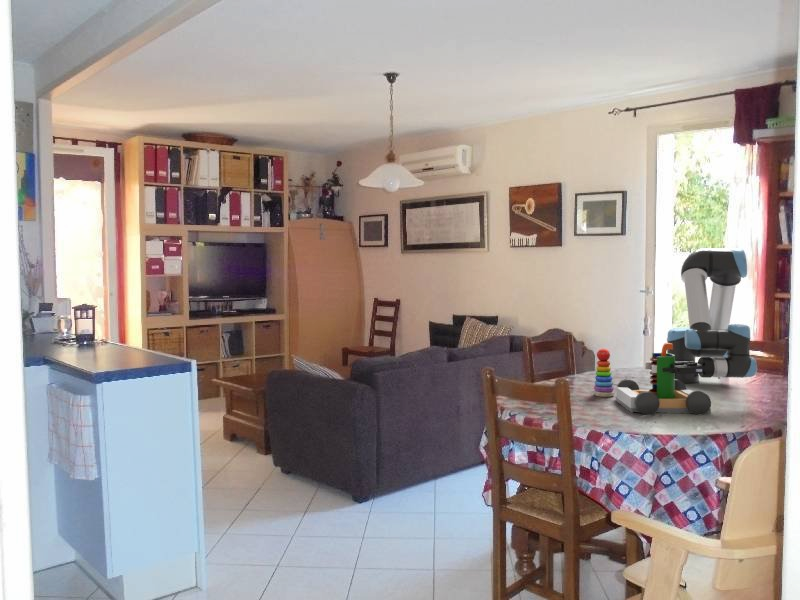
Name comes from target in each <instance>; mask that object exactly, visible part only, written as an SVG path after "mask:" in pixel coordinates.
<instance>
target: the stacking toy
mask: <svg viewBox="0 0 800 600" xmlns="http://www.w3.org/2000/svg"><path fill="white" fill-rule="evenodd" d="M596 357H597V359H598V361H597V362H596V364H597V366H596V369H595V370H596V371H595V377H594V380H595V381H594V386H593V389H594V390H593V395H594V396H596V397H601V398H610V397H613V396H614V395H615V392H614V389H615V388H614V386H613V385H614V382H613V377H612V371H611V369H612V368H611V366H610V365H611V362H610V361H609V359H610V357H611V352H610V351H609V350H608V349H607V348H600V349H599V350H598V351H597V352H596Z"/></svg>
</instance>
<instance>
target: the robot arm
mask: <svg viewBox="0 0 800 600" xmlns="http://www.w3.org/2000/svg"><path fill="white" fill-rule="evenodd" d="M747 262H748V261H747V255H746V253H745V250H744V249H743V248H738V247H737V248H736V247H735V248H734V247H730V248H729V247H728V248H725V247H724V248H721V247H720V248H717V247H716V248H711V247H710V248H707V247H706V248H705V247H704V248H699V249H697V250H694V251H693V252H692V253H690V254H689V255H688V256H687V258H686V259H685V260H684V261H683V263H682V266H681V270H680V278H681V281H682V282H683V283H684V287H685V296H686V299H685V300H686V306H687V307H686V308H687V316H688V325H689V326H682V327H675V328H672V329H669V330H668V331H667V338H666V343H672V344H673V350H672V349H668V350H667V351H666V353H669V354H674V355H675V366H674V364H671V368H662V372H671V373H675V379H678V380H680V381H682V382H683V383H684V384H693V383H699V381H700V378H703V379H704V378H717V379H718V380H720V379H721V378H738V379H740V378H742V379H743V378H752V377H754V376H756V374H757V372H758V365H757V363H758V362H757V360H756V358H755V357H753V356H751V355H750V353H751V352H750V349H751V328H750V326H748V325H747V324H742V323H741V324H740V323H735V324H733V323H731V324H730V321H731V318H732V309H733V303H734V297H735V293H736V286H737V285H739V284H740V283H741V282H742V278H743V279H744V278H746V277H747V276H748V275H747V274H748V264H747ZM708 278H709V279H710V281H711V283H712V287H711V295H710V302H709V301H708V293H707V285H706V280H707V279H708ZM696 358H698V359H697V360H698V361H697V362H696ZM650 362H651V361H645V362H644V369H645V370H650V367H652V370H651V371H652V373H657V365H650Z"/></svg>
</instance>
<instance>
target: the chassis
mask: <svg viewBox="0 0 800 600" xmlns="http://www.w3.org/2000/svg"><path fill="white" fill-rule="evenodd" d="M649 390H650V389H640V387H639V384H638V383H637V382H636V381H635V380H633V379H630V378H625V379H624V378H623V379H622V380H621V381H619V382H618V383H617V385H616V396H615V402H617V403H618V404H619V405H620V404H621V405H620V406H622V407H623V408H624V407H625V408H624V409H626V410H627V411H628V410H629V411H630V412H629V411H628V412H629V413H631V414H634V413H633V412H641V413H640V414H643V415H645V414H651V415H653V414H656V413H655V412H667V413H666V414H669V413H668V412H671V413H670V414H694V415H697V414H702V415H704V414H711V410H712V408H711V406H712V400H711V398H710V396H709V395H708V394H706V392H704V391H700V390H695V391H694V390H692V389H687V386H686V383H683V382H682V381H680V380H678V379H675V398H673V399H658V397H657V396H656V395H655V394H653V393H652V392H649ZM674 412H675V413H674ZM681 412H683V413H681Z"/></svg>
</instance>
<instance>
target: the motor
mask: <svg viewBox="0 0 800 600" xmlns="http://www.w3.org/2000/svg"><path fill="white" fill-rule="evenodd" d="M668 349H672V350H673V344H672V343H667V342H665V343H664V344H663V345H662V348H661V352H652V353H651V354H652V355H651V357H649V362H650V365H657V373H652V367H650V369H649V370H650V372H649V374H650V376H649V379H650V380H649V384H651V385H652V388H650V389H648V390H649V392H652V393H653V394H655V395H656V396H657V397H658V399H673V398H675V373H671V372H662V368H671V364H674V366H675V355H674V354H669V353H667V350H668Z"/></svg>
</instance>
